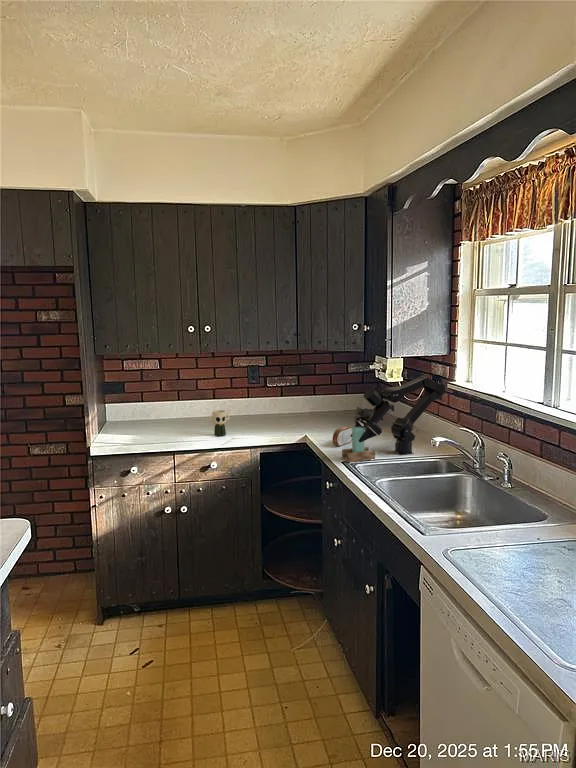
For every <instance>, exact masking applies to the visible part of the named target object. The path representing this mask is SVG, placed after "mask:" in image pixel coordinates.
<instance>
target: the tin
mask: <svg viewBox="0 0 576 768" xmlns="http://www.w3.org/2000/svg"><path fill="white" fill-rule="evenodd" d="M352 427H353V426H352ZM352 427H351V426H347V425H345V426H342V427H339V428H336V429H335V431H334V432H333V433H332V443H333V445H334V446H336V447H337V446H338V447H342V446H345V445H347V444H351V442H352V437H351V434H352Z"/></svg>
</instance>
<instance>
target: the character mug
mask: <svg viewBox="0 0 576 768" xmlns="http://www.w3.org/2000/svg"><path fill="white" fill-rule="evenodd" d="M208 419H209V420H208V421H209V422H210V423H211V422H212V423H213V424H215V425H214V434H213V435H214V436H216V437H220V436H226V435H227V429H226V426H225V425H226V423H227V421H229V420H230V413H227V411H226V410H225V409H218V410H212V414H211V415H208Z"/></svg>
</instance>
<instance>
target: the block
mask: <svg viewBox="0 0 576 768" xmlns="http://www.w3.org/2000/svg"><path fill="white" fill-rule="evenodd" d="M364 432H365V430H364V428H362V427H355V426H352V441H351V442H352V445H351V446H352V447H351V448H352V453H354V452H364V447H365V441H363V442H359V439H360V437H361V436H362V434H363V433H364Z"/></svg>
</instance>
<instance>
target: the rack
mask: <svg viewBox="0 0 576 768" xmlns="http://www.w3.org/2000/svg"><path fill="white" fill-rule="evenodd" d="M341 454H342V455H341V457H342V458H341V459H342V460H343V461H344V460H345V462H347V463H348V462H355V463H358V462H357V461H363V460H371V459H375V460H376V451H375V450H370V448H369V446H364V452H354V453H352V447H351V448H344V449H343V448H342V449H341Z"/></svg>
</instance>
